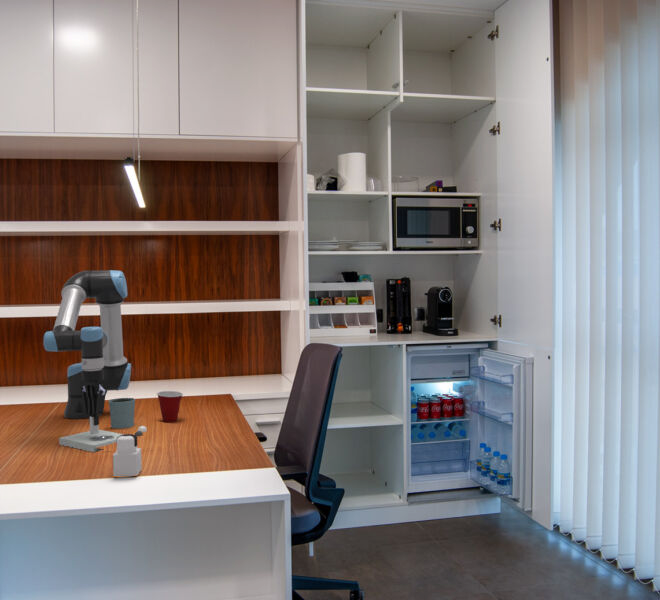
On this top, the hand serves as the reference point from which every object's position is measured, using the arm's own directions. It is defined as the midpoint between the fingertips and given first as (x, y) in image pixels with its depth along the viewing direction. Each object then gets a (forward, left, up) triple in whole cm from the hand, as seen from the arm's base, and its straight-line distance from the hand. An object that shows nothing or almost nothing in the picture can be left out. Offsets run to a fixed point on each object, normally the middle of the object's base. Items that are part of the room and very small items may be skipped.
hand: (94, 433), depth 241 cm
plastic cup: (-5, +41, -4) cm, 41 cm away
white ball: (+5, +18, -2) cm, 18 cm away
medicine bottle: (+42, -18, -4) cm, 46 cm away
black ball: (+9, +13, -2) cm, 16 cm away
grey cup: (-9, +19, -4) cm, 22 cm away
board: (+1, 0, -4) cm, 4 cm away
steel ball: (+5, 0, -2) cm, 5 cm away
